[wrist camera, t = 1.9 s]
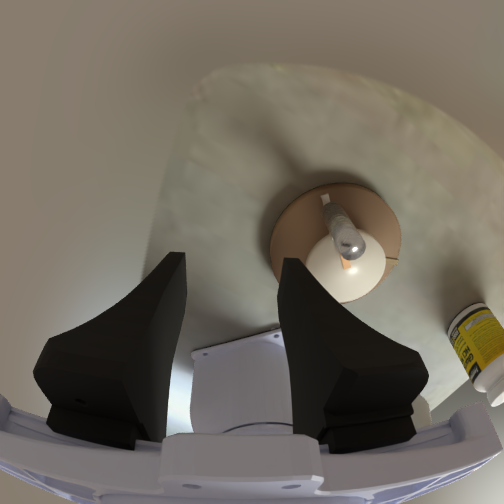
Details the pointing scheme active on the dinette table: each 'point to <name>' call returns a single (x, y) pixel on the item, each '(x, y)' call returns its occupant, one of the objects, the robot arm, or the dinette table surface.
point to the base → (314, 228)
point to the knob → (345, 257)
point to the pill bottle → (480, 349)
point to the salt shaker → (421, 413)
